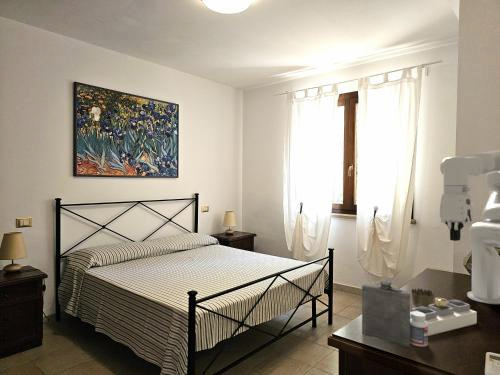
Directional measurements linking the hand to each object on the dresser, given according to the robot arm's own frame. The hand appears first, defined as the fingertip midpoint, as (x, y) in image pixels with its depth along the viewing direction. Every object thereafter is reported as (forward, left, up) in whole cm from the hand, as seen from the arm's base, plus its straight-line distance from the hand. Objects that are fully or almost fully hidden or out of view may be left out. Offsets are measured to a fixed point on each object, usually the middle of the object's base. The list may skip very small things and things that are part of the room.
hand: (455, 240), depth 122 cm
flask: (+38, +5, -27) cm, 47 cm away
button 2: (+5, +5, -23) cm, 24 cm away
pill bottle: (+31, +11, -27) cm, 43 cm away
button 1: (+21, +4, -23) cm, 32 cm away
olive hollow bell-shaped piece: (+11, -5, -27) cm, 30 cm away
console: (+13, +5, -27) cm, 30 cm away
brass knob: (+13, +5, -21) cm, 25 cm away
